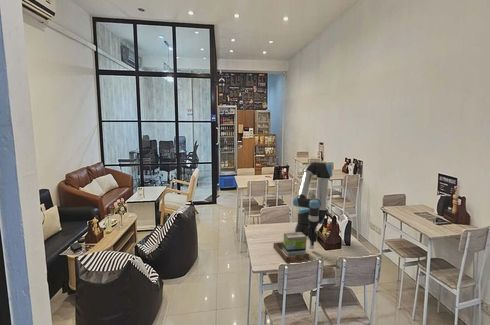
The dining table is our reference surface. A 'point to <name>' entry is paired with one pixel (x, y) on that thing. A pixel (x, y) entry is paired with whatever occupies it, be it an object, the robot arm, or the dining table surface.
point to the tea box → (294, 243)
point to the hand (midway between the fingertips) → (311, 248)
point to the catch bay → (289, 258)
